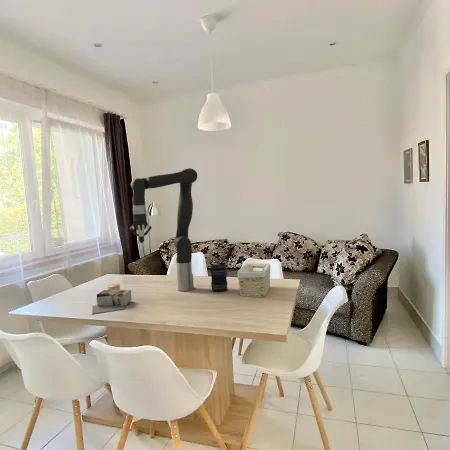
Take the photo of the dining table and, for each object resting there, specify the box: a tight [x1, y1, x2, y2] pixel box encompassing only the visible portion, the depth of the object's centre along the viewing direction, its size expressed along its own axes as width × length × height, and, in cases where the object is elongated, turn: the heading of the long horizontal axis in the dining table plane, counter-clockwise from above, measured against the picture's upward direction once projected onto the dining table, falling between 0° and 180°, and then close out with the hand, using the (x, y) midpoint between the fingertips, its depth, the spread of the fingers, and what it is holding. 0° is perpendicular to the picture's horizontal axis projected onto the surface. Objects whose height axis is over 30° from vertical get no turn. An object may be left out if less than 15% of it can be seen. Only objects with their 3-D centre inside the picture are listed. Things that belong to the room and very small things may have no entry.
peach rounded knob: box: [106, 283, 121, 290], centre depth 195 cm, size 7×7×7 cm
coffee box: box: [96, 289, 133, 306], centre depth 181 cm, size 9×6×16 cm
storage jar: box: [210, 264, 228, 293], centre depth 199 cm, size 10×10×15 cm
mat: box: [91, 304, 126, 315], centre depth 175 cm, size 16×14×1 cm
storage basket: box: [237, 262, 271, 298], centre depth 192 cm, size 24×16×15 cm
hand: (141, 242), depth 191 cm, fingers closed
